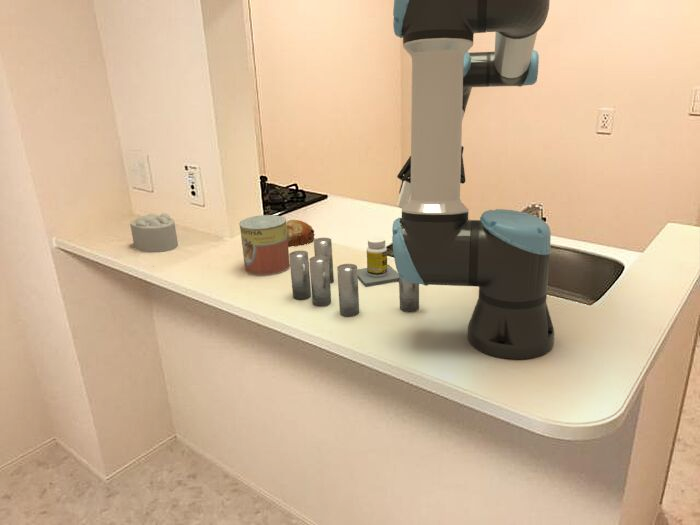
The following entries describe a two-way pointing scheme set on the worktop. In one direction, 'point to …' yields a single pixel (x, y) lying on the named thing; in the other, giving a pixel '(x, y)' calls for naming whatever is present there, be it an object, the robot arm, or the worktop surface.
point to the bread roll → (299, 233)
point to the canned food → (265, 245)
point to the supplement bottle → (376, 257)
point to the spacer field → (346, 281)
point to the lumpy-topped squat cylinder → (154, 233)
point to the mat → (370, 281)
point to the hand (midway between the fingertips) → (420, 209)
